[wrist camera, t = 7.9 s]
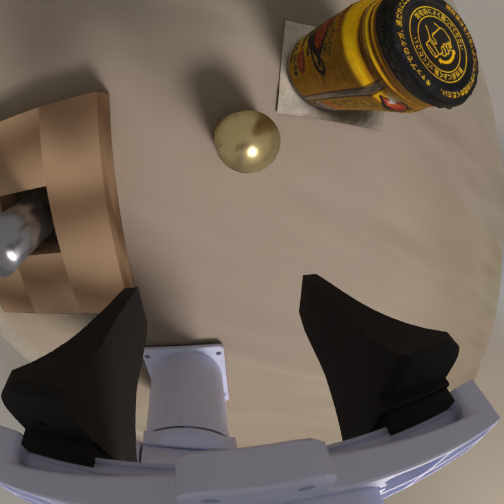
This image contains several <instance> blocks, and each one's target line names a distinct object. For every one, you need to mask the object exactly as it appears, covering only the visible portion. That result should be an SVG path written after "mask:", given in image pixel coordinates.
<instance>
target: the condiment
mask: <svg viewBox="0 0 504 504" xmlns="http://www.w3.org/2000/svg"><path fill="white" fill-rule="evenodd" d="M477 76H478V60H477V54H476V49H475V46H474V43H473V40H472V38H471V36H470V34H469V32H468V30H467V28H466V26H465V24H464V22H463V21H462V19H461V18H460V17H459V15H458V14H457V13H456V12H455V11H454V10H453V8H452V7H451V6H450V5H448V4H447V3H446V2H445V1H443V0H361V1H359V2H356V3H354V4H351V5H350V6H349V7H347V8H346V9H344V10H343V11H342V12H340V13H338V14H337V15H335V16H334V17H332V18H330V19H329V20H327V21H326V22H325V23H323V24H321V25H320V26H318V27H315V26H310V25H306V24H301V23H296V22H291V21H287V20H285V27H284V39H283V49H282V60H281V72H280V84H279V98H278V109H277V113H281V114H289V115H297V116H304V117H311V118H317V119H323V120H329V121H334V122H340V123H346V124H350V125H355V126H360V127H364V128H369V129H373V130H378V131H382V124H383V121H382V118H383V111H389V112H400V113H411V112H417V111H420V110H422V109H425V108H427V107H438V108H447V109H451V108H452V107H455V106H459V105H461V104H463V103H464V102H465V101H466V100H467V98H468V97H469V96H470V95H471V94H472V92H473V90H474V88H475V86H476V83H477Z"/></svg>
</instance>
